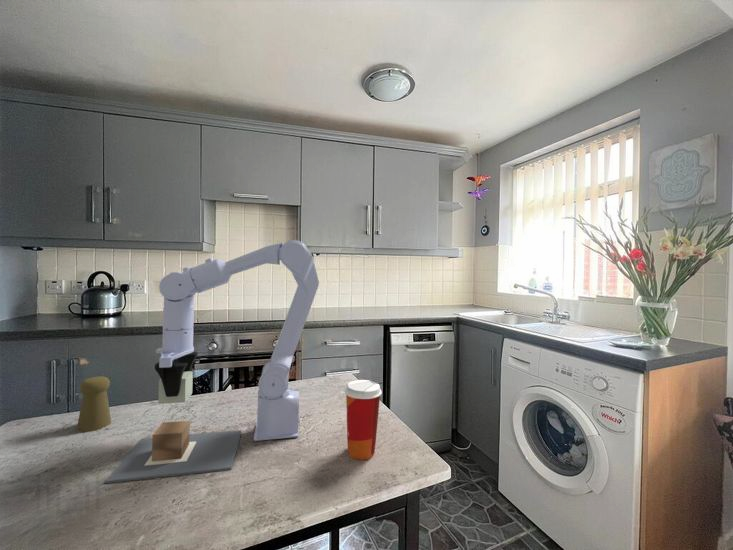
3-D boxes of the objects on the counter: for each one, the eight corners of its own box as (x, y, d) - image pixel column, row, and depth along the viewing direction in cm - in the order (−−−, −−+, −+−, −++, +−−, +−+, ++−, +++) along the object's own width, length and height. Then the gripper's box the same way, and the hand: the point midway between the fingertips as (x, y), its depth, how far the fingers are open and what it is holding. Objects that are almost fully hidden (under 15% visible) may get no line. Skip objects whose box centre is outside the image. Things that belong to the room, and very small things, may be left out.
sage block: (192, 393, 72) (192, 371, 72) (185, 402, 67) (185, 378, 67) (167, 394, 71) (168, 372, 71) (158, 403, 66) (158, 379, 66)
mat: (241, 431, 73) (241, 429, 73) (231, 469, 59) (231, 466, 59) (141, 440, 68) (141, 438, 68) (105, 483, 54) (105, 480, 54)
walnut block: (189, 444, 66) (189, 420, 66) (181, 458, 61) (181, 432, 61) (162, 446, 65) (162, 422, 65) (151, 461, 60) (152, 435, 60)
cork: (91, 433, 70) (92, 383, 70) (69, 430, 71) (70, 380, 71) (117, 421, 76) (118, 375, 75) (97, 417, 77) (98, 372, 77)
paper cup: (361, 438, 72) (363, 376, 71) (387, 453, 66) (389, 386, 66) (334, 451, 66) (336, 384, 66) (359, 468, 61) (362, 395, 60)
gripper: (170, 322, 75) (168, 380, 75) (142, 335, 61) (140, 406, 61) (202, 322, 76) (201, 378, 77) (183, 334, 62) (181, 403, 62)
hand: (176, 390), depth 69 cm, fingers closed on sage block, 5 cm apart
